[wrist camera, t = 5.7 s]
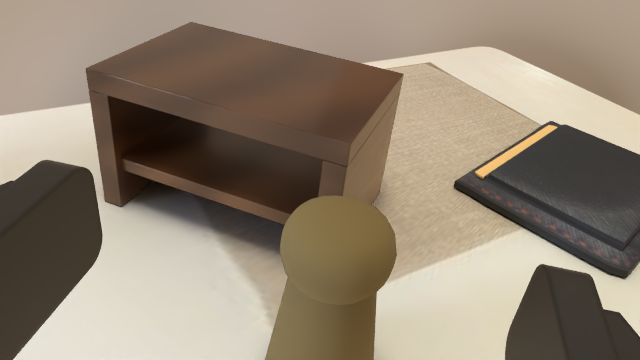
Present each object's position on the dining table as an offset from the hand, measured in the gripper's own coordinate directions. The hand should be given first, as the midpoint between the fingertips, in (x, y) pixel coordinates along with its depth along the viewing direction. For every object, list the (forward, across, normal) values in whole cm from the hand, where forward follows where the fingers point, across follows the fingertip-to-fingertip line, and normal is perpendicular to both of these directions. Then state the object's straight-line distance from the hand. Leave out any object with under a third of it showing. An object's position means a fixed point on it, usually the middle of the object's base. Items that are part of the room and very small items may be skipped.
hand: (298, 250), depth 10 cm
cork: (+11, 0, +19) cm, 22 cm away
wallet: (+37, -19, +19) cm, 46 cm away
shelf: (+26, +9, +18) cm, 33 cm away
